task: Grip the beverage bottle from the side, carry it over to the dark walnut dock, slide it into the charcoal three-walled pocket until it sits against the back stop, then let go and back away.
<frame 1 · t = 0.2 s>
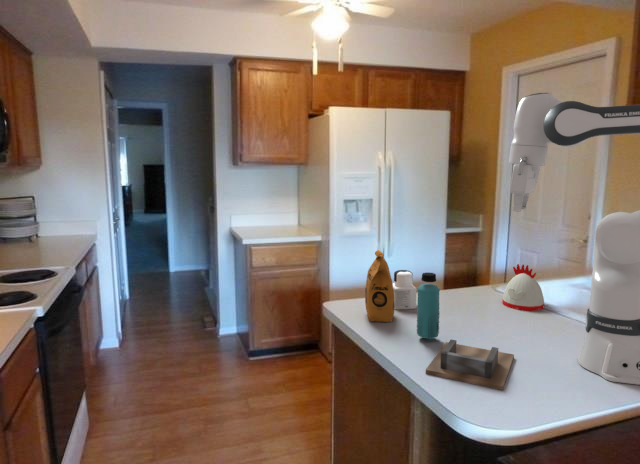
hand: (519, 210, 123), 39 cm above the countertop, tool pointing down, fingers open, 8 cm apart
beverage bottle: (427, 339, 137), on the countertop
kitchen timer: (522, 305, 169), on the countertop
bottle dock: (471, 365, 119), on the countertop
coffee package: (379, 317, 157), on the countertop
container: (402, 306, 168), on the countertop
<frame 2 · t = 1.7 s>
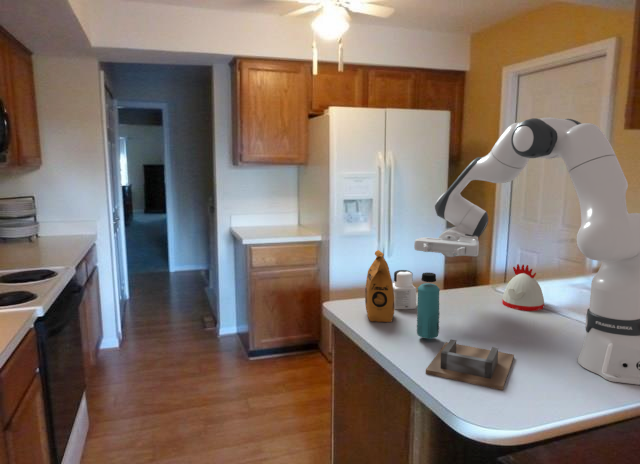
hand: (440, 250, 144), 25 cm above the countertop, tool horizontal, fingers open, 8 cm apart
nothing on the countertop moved.
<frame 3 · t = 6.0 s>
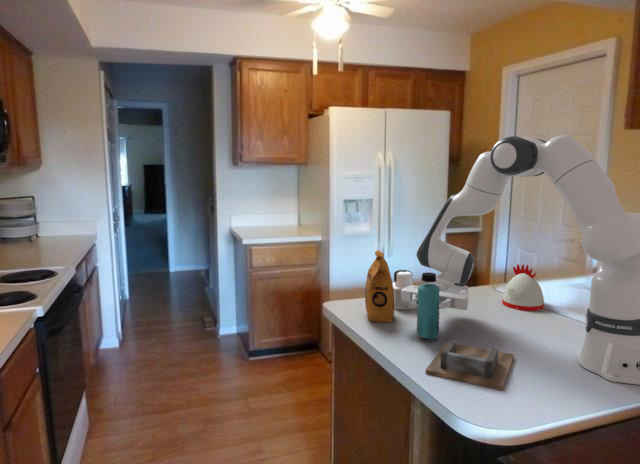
hand: (427, 304, 135), 11 cm above the countertop, tool horizontal, fingers closed on beverage bottle, 6 cm apart
beverage bottle: (427, 339, 137), on the countertop, touching gripper
everything else where it was.
when the fingers open (13 cm above the countertop, at t = 12.1 s): beverage bottle stays where it is, resting on bottle dock.
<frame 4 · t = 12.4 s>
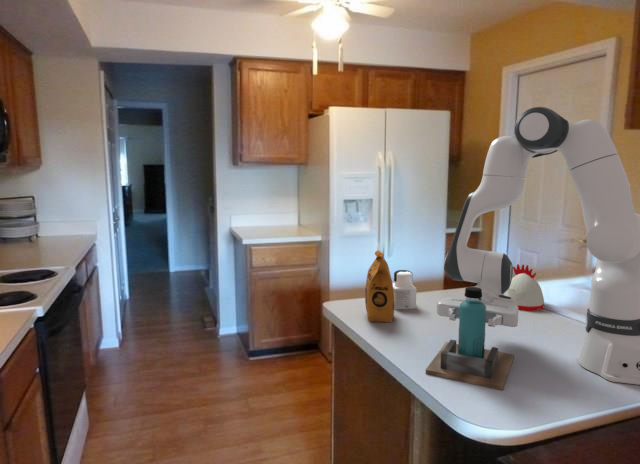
hand: (471, 320, 115), 13 cm above the countertop, tool horizontal, fingers open, 8 cm apart
beverage bottle: (470, 365, 118), point 1 cm above the countertop, touching bottle dock
everything else where it was.
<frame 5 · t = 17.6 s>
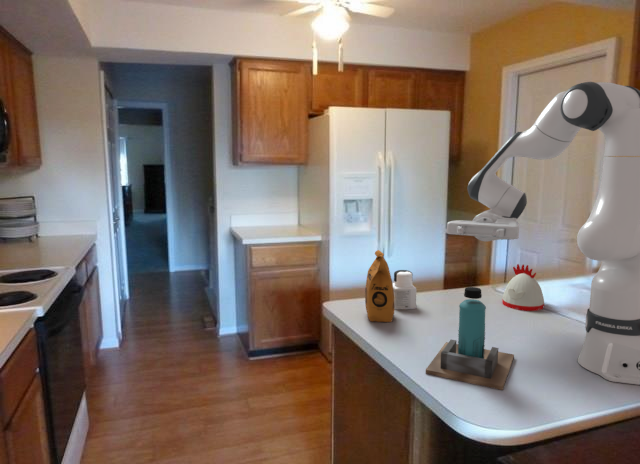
hand: (477, 232, 131), 32 cm above the countertop, tool horizontal, fingers open, 8 cm apart
nothing on the countertop moved.
at the end: beverage bottle 0.2 cm from the target spot on the bottle dock, point 0.8 cm above the bottle dock's base; beverage bottle tilted 0°; the gripper is holding nothing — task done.
